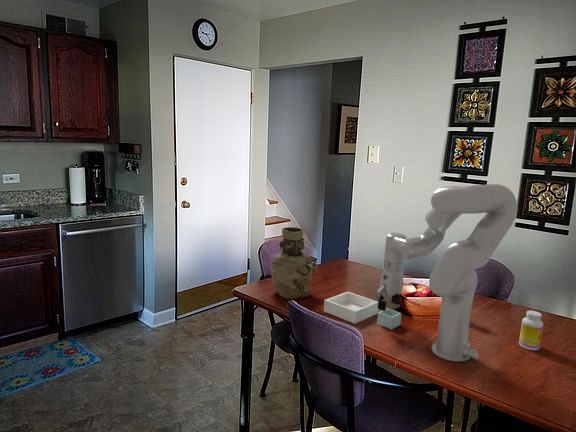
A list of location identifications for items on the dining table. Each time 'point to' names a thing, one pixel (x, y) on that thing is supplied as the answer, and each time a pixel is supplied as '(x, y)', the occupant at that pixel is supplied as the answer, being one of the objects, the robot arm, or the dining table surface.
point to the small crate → (389, 318)
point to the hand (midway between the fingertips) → (388, 306)
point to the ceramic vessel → (292, 266)
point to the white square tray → (351, 307)
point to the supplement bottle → (531, 331)
